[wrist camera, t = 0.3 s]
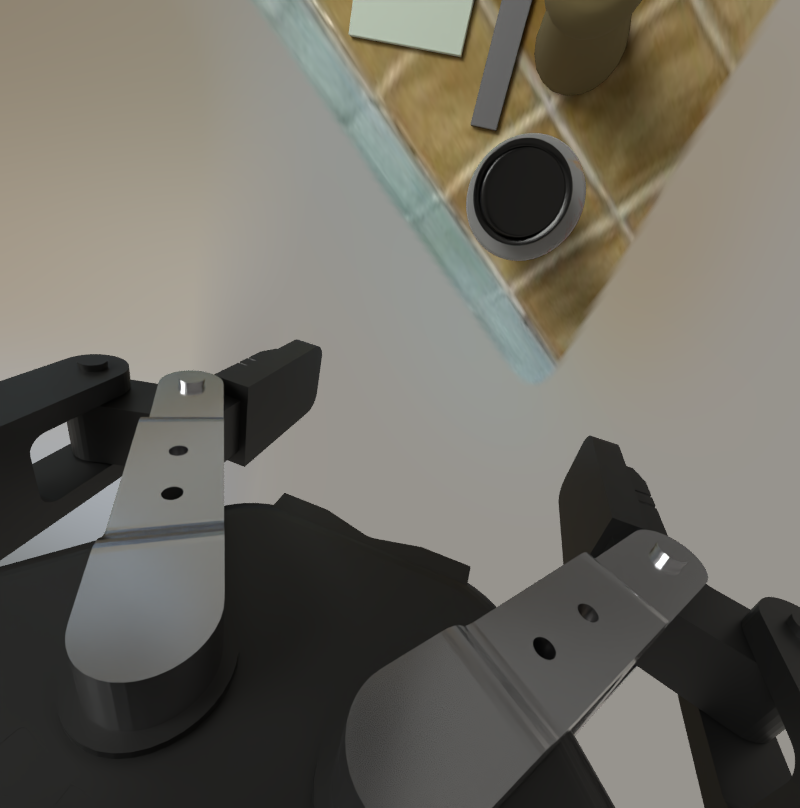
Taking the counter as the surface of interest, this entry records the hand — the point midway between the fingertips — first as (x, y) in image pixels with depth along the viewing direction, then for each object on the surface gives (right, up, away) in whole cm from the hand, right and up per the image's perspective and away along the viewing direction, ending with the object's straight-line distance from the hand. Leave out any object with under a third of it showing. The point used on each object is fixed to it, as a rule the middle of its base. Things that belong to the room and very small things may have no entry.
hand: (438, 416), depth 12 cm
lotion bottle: (+9, +16, +21) cm, 28 cm away
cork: (+11, +25, +17) cm, 33 cm away
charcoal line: (+7, +29, +16) cm, 34 cm away
